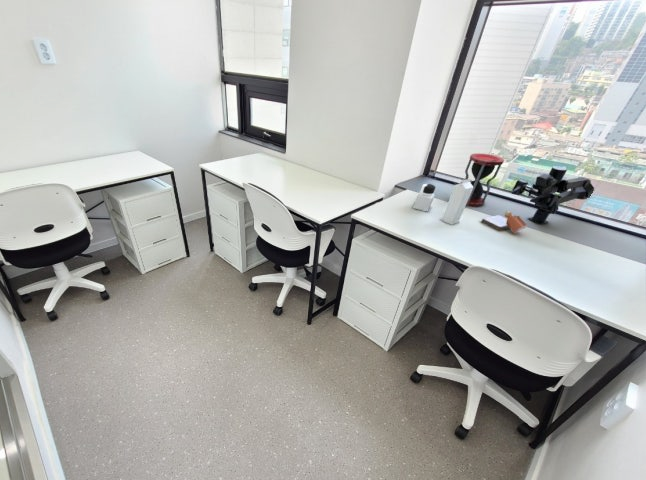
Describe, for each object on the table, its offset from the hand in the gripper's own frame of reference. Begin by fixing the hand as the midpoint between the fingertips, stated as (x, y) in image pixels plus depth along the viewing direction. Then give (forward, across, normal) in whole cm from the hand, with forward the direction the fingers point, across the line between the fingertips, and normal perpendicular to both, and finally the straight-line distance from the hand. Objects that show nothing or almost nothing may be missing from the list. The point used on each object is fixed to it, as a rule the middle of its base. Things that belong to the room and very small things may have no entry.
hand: (521, 196), depth 146 cm
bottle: (+1, +3, +17) cm, 17 cm away
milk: (+22, -15, +15) cm, 31 cm away
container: (+25, -32, +16) cm, 44 cm away
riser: (+1, -4, +17) cm, 17 cm away
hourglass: (-9, -31, +19) cm, 37 cm away
